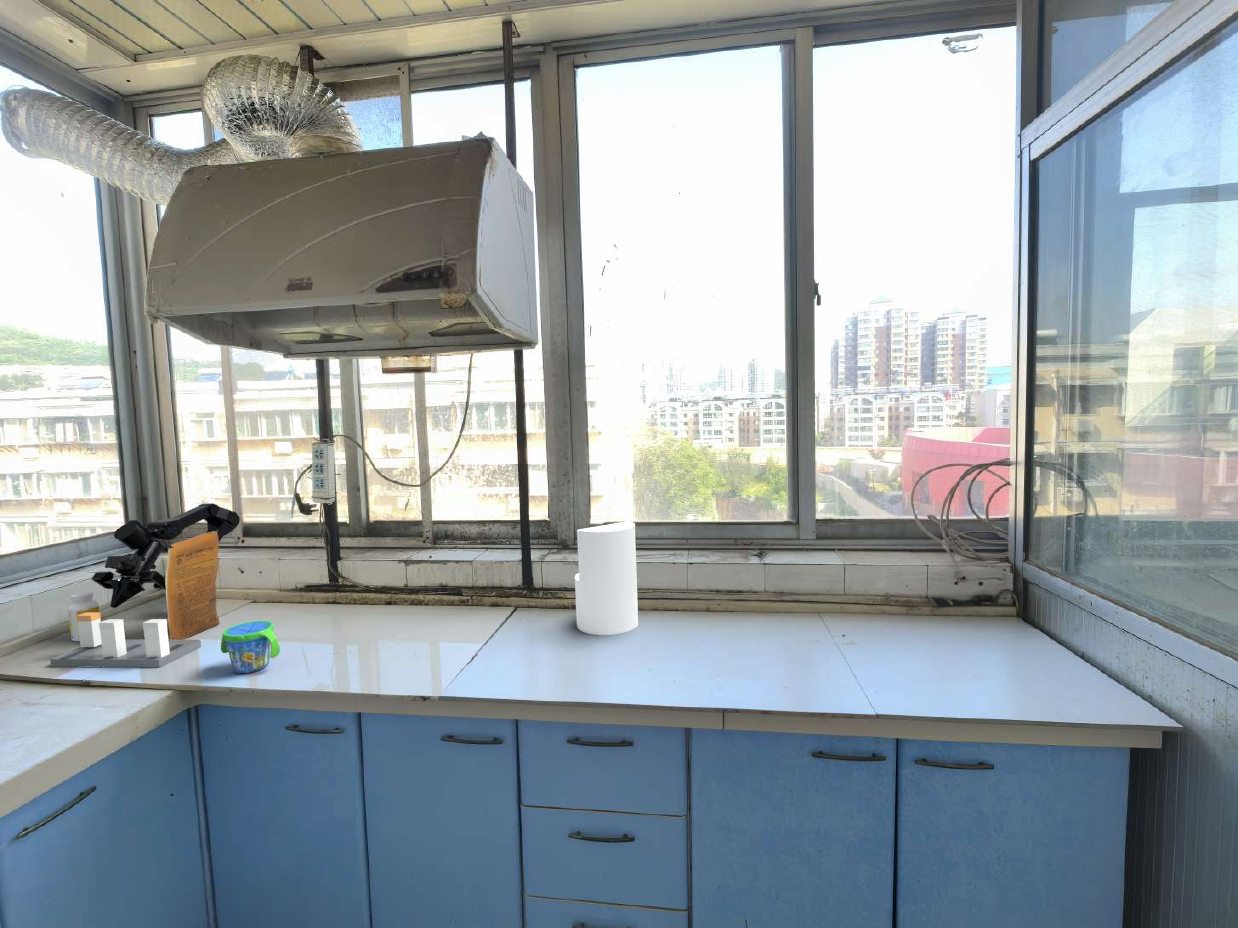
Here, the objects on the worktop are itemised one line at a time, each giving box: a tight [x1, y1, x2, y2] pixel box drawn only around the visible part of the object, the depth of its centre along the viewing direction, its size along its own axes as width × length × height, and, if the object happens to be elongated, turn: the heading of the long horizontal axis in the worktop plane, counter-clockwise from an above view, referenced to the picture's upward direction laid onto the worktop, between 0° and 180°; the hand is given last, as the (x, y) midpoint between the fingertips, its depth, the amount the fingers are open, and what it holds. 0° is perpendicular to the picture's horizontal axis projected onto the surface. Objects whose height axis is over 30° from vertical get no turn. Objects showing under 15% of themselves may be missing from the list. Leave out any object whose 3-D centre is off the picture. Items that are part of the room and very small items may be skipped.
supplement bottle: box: [67, 591, 100, 642], centre depth 171 cm, size 7×7×13 cm
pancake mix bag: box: [165, 531, 220, 640], centre depth 172 cm, size 7×19×28 cm, turn 170°
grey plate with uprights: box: [49, 618, 202, 669], centre depth 156 cm, size 13×30×11 cm, turn 85°
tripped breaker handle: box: [77, 611, 102, 647], centre depth 158 cm, size 3×4×8 cm, turn 84°
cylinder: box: [574, 520, 639, 636], centre depth 166 cm, size 17×17×28 cm
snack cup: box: [220, 620, 281, 674], centre depth 145 cm, size 16×10×10 cm
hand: (112, 607), depth 164 cm, fingers closed
